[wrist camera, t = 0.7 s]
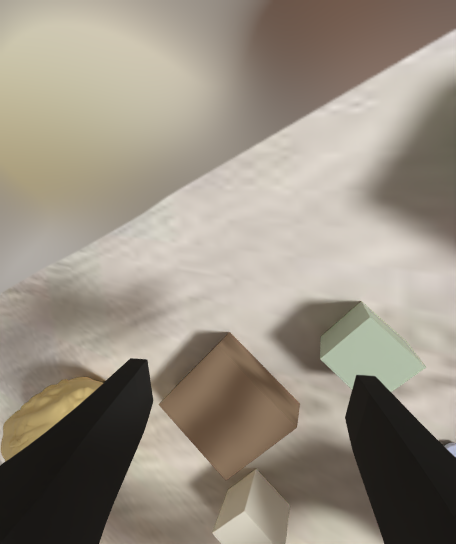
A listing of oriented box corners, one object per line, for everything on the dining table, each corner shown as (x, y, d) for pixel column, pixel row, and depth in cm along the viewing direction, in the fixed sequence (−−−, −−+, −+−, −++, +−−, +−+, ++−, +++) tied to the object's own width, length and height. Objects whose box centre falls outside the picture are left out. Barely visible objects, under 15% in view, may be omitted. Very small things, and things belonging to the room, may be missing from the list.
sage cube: (405, 341, 24) (426, 367, 19) (361, 375, 26) (370, 407, 21) (361, 300, 25) (370, 316, 20) (320, 336, 26) (320, 359, 22)
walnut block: (300, 401, 28) (296, 427, 24) (237, 451, 31) (225, 480, 28) (230, 330, 30) (217, 345, 26) (177, 384, 33) (158, 404, 29)
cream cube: (290, 504, 30) (284, 555, 25) (259, 524, 31) (248, 575, 27) (256, 468, 31) (244, 510, 26) (228, 489, 32) (212, 533, 27)
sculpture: (115, 353, 35) (30, 403, 25) (154, 440, 35) (85, 526, 25) (57, 377, 39) (-37, 428, 29) (92, 455, 39) (11, 534, 28)
